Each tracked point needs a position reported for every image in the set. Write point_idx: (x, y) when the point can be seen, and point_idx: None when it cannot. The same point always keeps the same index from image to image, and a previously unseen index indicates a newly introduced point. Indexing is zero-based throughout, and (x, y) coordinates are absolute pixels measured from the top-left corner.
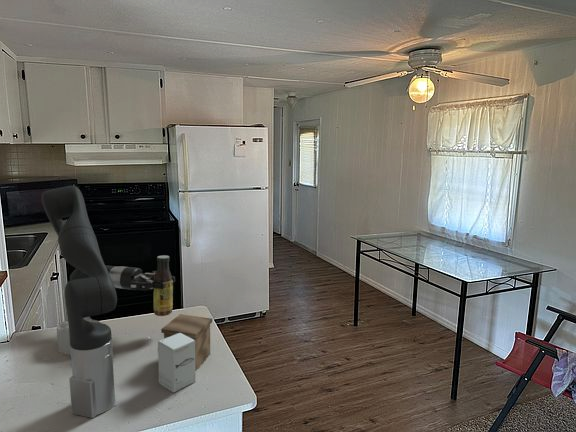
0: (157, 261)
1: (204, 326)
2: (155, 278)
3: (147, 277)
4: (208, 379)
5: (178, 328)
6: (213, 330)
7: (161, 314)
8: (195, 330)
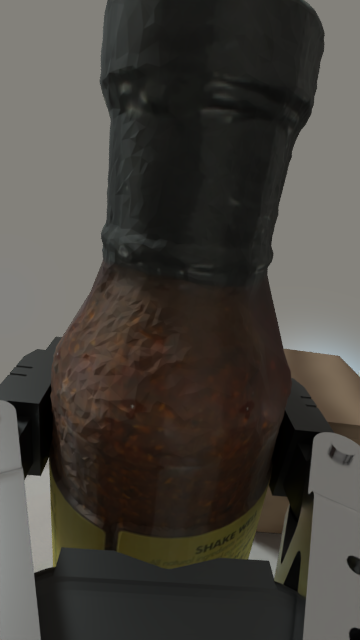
0: (296, 115)
1: (285, 350)
2: (286, 395)
3: (313, 558)
4: None
5: (355, 391)
6: (48, 474)
7: None
8: (324, 359)
